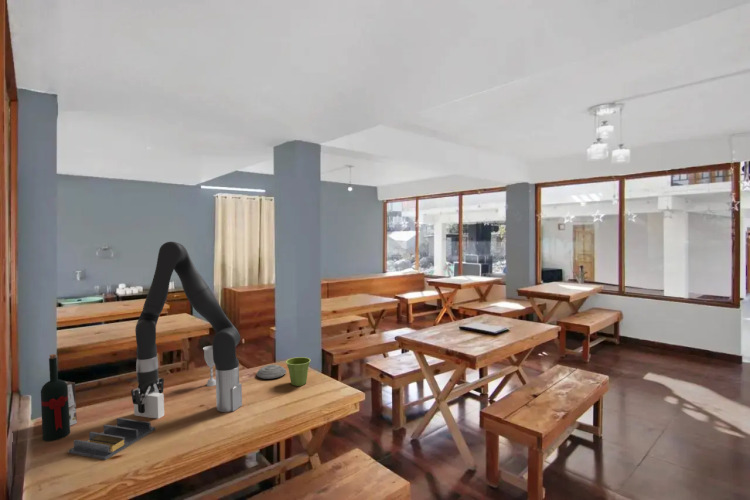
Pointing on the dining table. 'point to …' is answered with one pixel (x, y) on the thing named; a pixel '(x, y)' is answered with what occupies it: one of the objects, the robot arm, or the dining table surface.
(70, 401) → the coffee box
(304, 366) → the plant pot
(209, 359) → the chalice
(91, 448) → the rack
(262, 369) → the grey stone
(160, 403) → the panel
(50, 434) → the wine bottle
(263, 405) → the dining table surface
